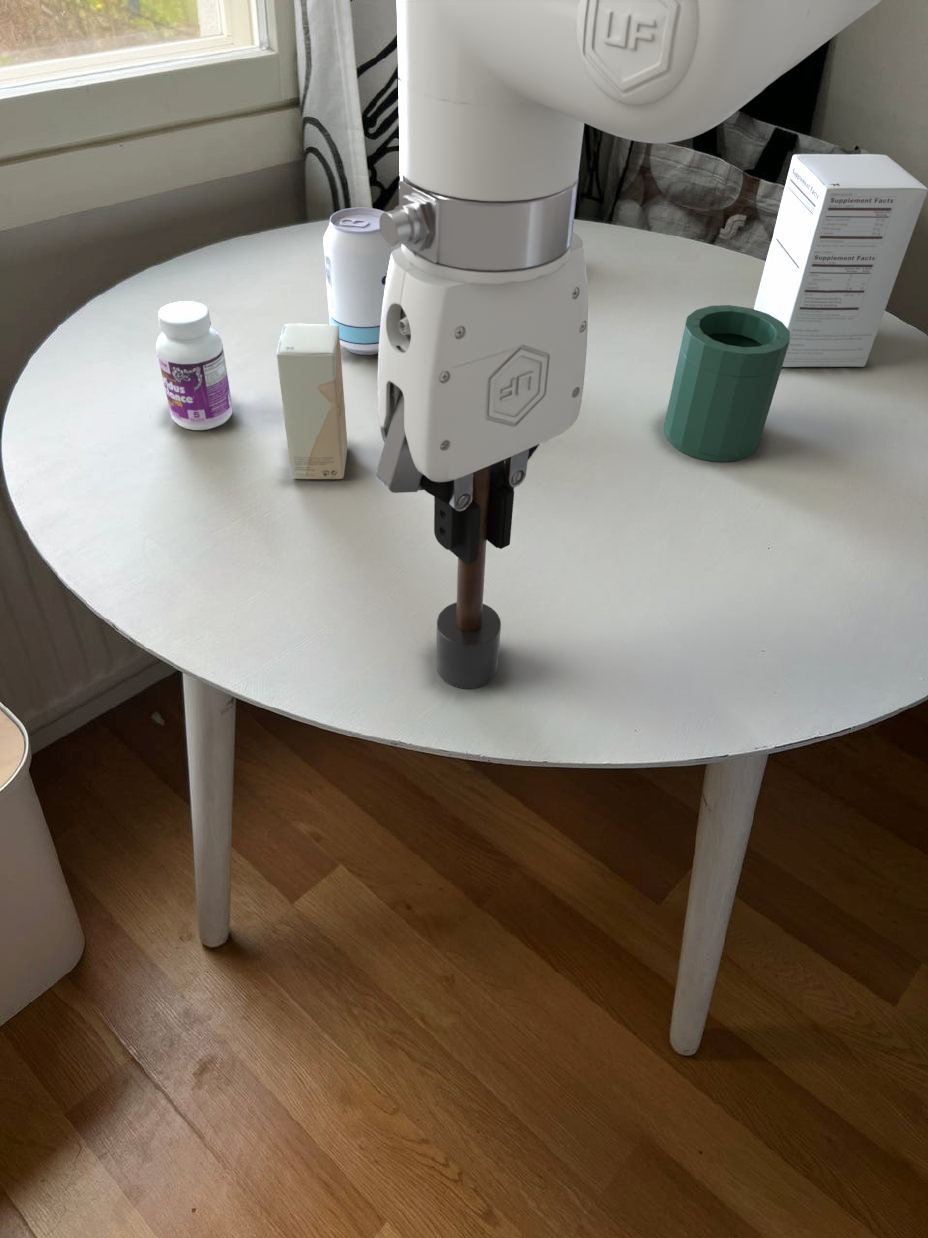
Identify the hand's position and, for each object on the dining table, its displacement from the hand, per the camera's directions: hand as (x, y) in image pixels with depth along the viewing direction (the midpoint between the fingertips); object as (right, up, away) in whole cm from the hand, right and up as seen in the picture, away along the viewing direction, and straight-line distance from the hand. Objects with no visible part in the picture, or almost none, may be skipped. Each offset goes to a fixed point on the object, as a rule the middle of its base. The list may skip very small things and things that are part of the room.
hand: (472, 541), depth 53 cm
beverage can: (-10, +23, +38) cm, 45 cm away
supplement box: (+34, +23, +40) cm, 58 cm away
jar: (+21, +12, +28) cm, 37 cm away
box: (-12, +8, +23) cm, 28 cm away
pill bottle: (-23, +13, +28) cm, 39 cm away
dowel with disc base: (0, -8, +7) cm, 11 cm away
